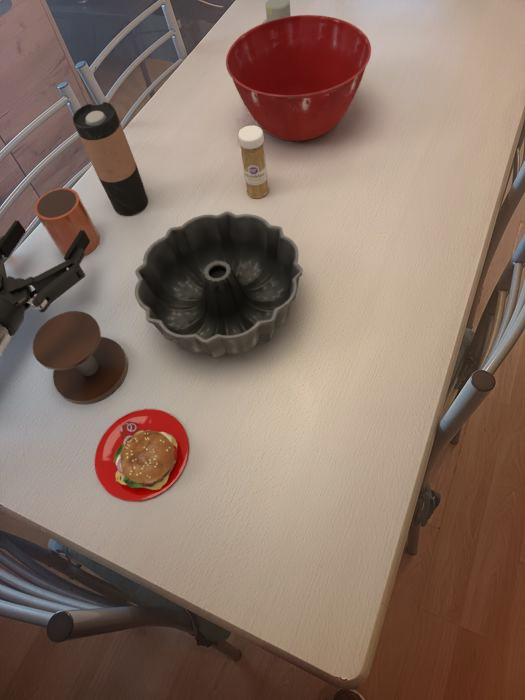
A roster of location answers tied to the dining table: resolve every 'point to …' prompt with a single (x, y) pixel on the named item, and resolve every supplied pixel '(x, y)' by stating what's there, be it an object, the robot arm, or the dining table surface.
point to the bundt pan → (219, 283)
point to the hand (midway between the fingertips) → (52, 230)
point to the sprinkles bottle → (254, 160)
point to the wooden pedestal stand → (80, 357)
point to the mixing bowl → (299, 73)
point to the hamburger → (141, 455)
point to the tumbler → (66, 219)
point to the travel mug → (111, 157)
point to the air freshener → (277, 9)
